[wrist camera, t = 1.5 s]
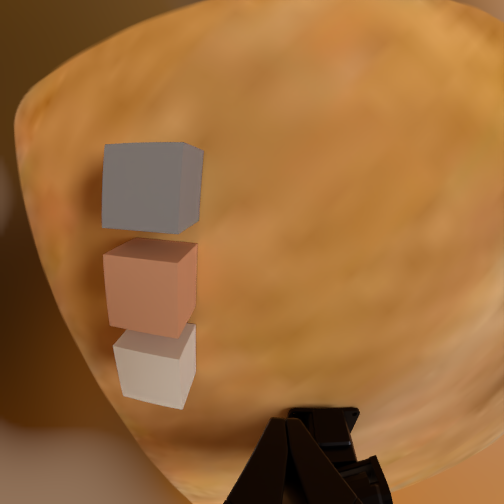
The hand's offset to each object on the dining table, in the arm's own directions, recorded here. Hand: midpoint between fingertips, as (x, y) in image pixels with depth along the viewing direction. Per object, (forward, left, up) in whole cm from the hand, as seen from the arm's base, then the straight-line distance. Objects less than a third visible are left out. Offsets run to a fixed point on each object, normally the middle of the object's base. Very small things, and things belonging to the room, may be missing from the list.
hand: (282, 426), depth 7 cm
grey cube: (+6, +8, -12) cm, 15 cm away
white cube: (-6, +8, -12) cm, 15 cm away
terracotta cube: (0, +8, -12) cm, 14 cm away
